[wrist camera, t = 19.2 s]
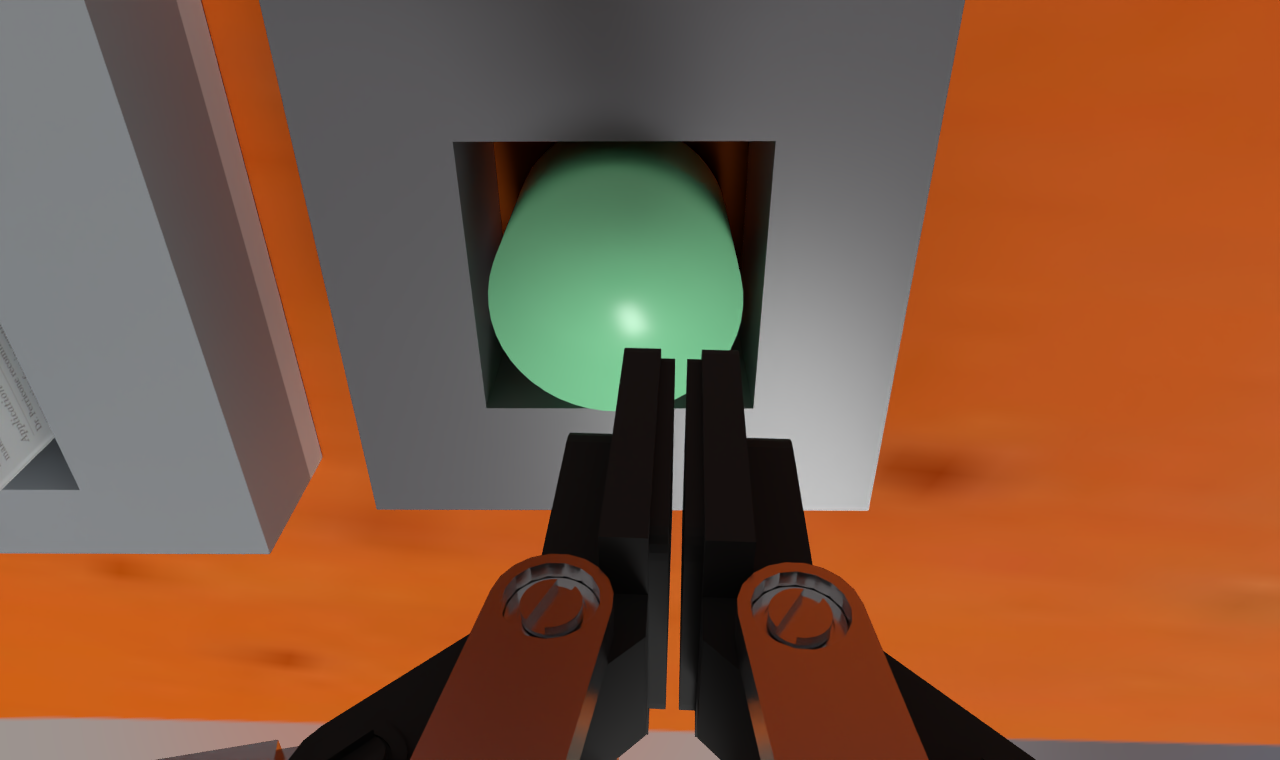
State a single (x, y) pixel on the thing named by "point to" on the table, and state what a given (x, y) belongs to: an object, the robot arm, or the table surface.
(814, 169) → the button housing
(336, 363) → the table surface
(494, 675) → the robot arm
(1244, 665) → the table surface
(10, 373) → the skincare box
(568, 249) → the button
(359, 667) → the table surface
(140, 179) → the grey slotted board
